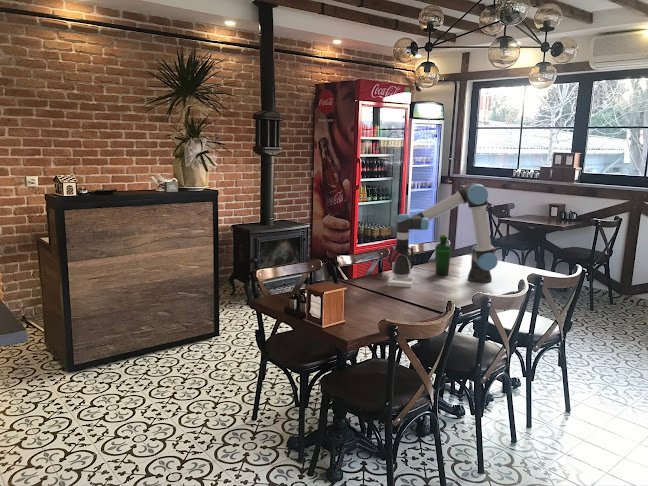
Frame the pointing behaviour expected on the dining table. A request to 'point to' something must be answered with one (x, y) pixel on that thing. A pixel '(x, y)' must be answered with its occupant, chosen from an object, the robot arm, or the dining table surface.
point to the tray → (401, 282)
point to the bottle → (442, 256)
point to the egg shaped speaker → (401, 267)
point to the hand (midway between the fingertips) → (401, 273)
